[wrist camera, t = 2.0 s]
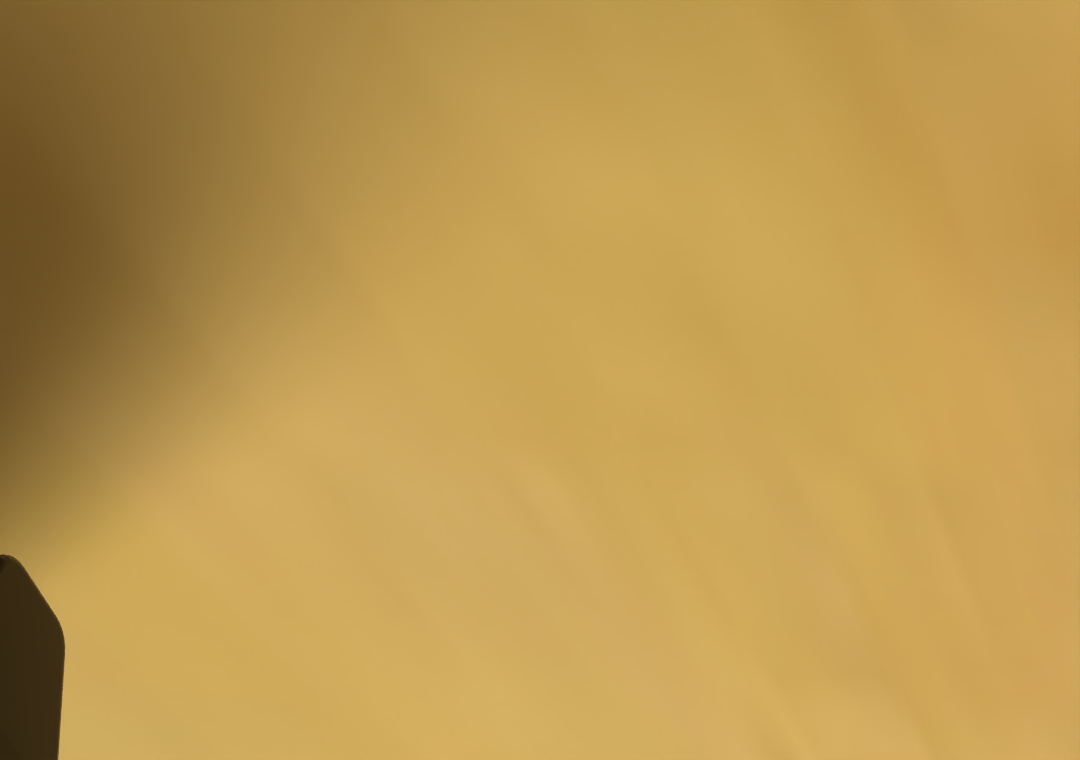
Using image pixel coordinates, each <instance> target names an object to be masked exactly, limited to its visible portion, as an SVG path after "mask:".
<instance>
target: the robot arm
mask: <svg viewBox="0 0 1080 760" xmlns="http://www.w3.org/2000/svg"><path fill="white" fill-rule="evenodd" d="M64 660H65V642H64V635H63V631H62V628H61V625H60V623H59V621H58V619H57V617H56V615H55V614H54V612H53V611H52V609H51V608H50V606H49V605H48V603H47V602H46V600H45V599H44V597H43V596H42V594H41V593H40V591H39V590H38V588H37V586H36V585H35V583H34V582H33V580H32V579H31V577H30V576H29V574H28V573H27V571H26V570H25V568H24V567H23V566H22V564H21V563H20V562H19V561H18V560H17V559H15V558H14V557H12V556H10V555H0V760H58V754H59V738H60V722H61V707H62V691H63V676H64Z"/></svg>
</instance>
